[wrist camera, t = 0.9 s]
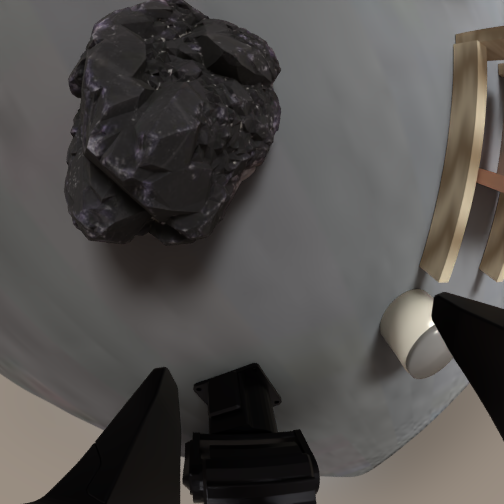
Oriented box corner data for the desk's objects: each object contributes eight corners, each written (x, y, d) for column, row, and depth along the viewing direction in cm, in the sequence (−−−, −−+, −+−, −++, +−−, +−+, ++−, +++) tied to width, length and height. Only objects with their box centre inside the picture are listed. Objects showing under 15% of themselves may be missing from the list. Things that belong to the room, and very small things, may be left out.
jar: (431, 322, 26) (461, 356, 21) (383, 350, 27) (409, 389, 22) (429, 278, 24) (466, 310, 19) (375, 307, 24) (406, 348, 19)
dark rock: (215, -11, 14) (190, -98, 5) (326, 143, 18) (395, 152, 9) (64, 102, 17) (-35, 99, 7) (161, 247, 21) (102, 329, 12)
